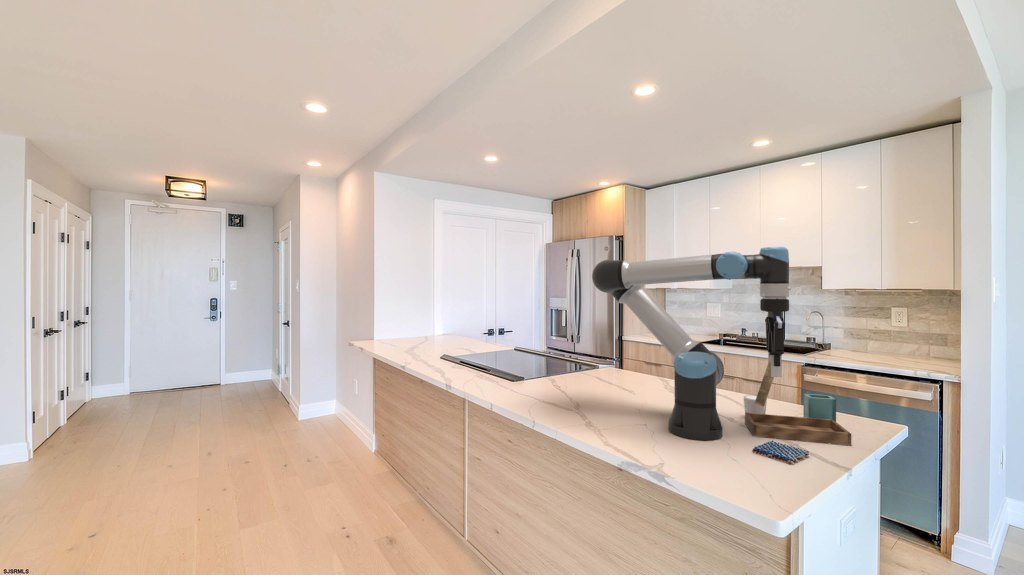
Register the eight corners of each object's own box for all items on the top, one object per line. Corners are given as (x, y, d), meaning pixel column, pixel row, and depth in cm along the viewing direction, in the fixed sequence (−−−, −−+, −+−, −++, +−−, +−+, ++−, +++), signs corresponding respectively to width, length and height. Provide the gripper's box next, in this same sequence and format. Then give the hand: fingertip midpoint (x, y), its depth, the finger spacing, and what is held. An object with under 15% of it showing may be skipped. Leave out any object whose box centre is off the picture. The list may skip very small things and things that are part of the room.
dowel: (755, 406, 133) (757, 346, 133) (753, 404, 136) (755, 345, 136) (782, 408, 131) (784, 348, 131) (780, 406, 134) (782, 347, 134)
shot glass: (765, 417, 148) (765, 396, 148) (768, 422, 142) (768, 401, 142) (742, 414, 151) (742, 394, 151) (744, 420, 145) (744, 398, 145)
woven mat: (812, 458, 113) (812, 450, 113) (792, 467, 108) (792, 459, 108) (770, 446, 122) (770, 439, 122) (750, 454, 117) (750, 446, 117)
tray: (753, 436, 129) (753, 425, 129) (745, 422, 142) (745, 412, 142) (851, 445, 121) (851, 433, 121) (832, 430, 134) (832, 419, 134)
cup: (809, 426, 138) (809, 397, 138) (803, 421, 143) (803, 393, 143) (836, 428, 136) (836, 399, 136) (829, 423, 141) (829, 395, 141)
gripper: (796, 298, 124) (796, 381, 124) (781, 297, 139) (782, 371, 139) (766, 298, 127) (766, 380, 127) (755, 297, 142) (755, 370, 142)
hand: (774, 375), depth 133 cm, fingers closed on dowel, 2 cm apart
